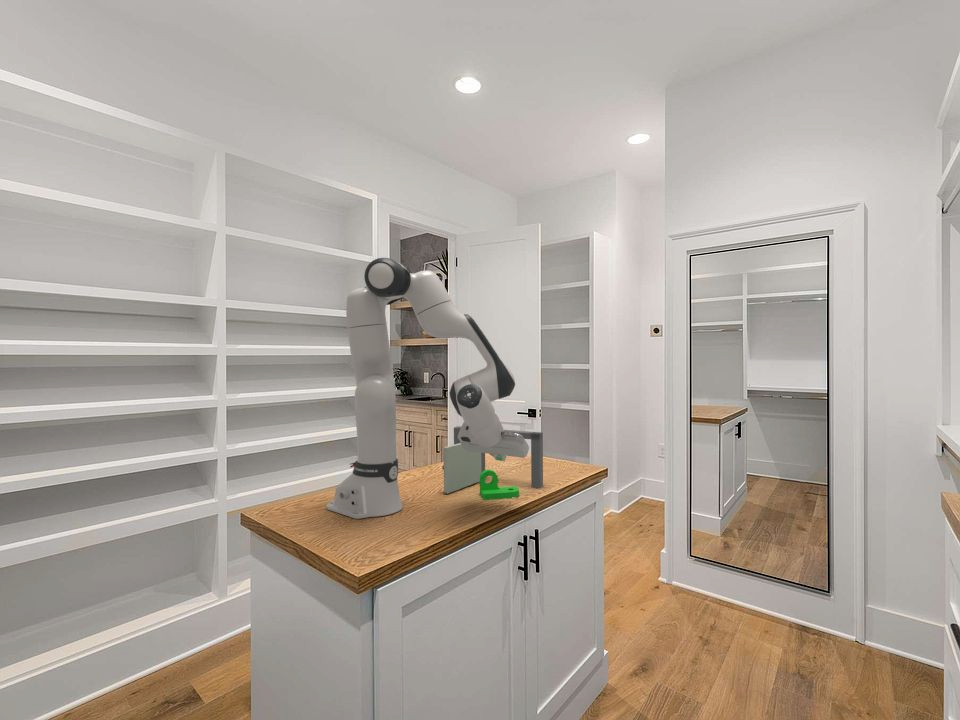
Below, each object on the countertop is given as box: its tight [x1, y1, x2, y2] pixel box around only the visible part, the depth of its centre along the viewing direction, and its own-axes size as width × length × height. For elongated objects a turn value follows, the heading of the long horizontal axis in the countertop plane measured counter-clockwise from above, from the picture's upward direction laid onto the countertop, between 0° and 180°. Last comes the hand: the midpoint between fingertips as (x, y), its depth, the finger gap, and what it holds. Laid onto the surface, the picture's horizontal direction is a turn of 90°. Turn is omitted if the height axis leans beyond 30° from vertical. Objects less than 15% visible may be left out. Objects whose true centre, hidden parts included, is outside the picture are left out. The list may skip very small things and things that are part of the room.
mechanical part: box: [479, 469, 520, 501], centre depth 150 cm, size 12×6×8 cm, turn 101°
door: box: [442, 443, 481, 495], centre depth 159 cm, size 18×3×14 cm, turn 143°
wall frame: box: [453, 426, 544, 489], centre depth 166 cm, size 32×3×18 cm, turn 63°
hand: (501, 458), depth 144 cm, fingers closed
